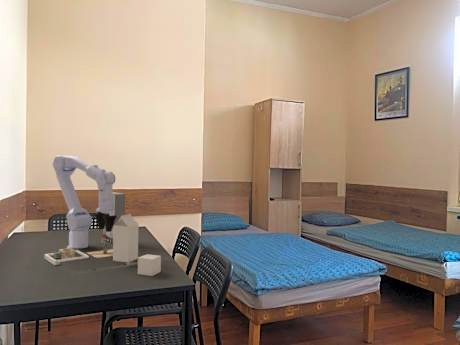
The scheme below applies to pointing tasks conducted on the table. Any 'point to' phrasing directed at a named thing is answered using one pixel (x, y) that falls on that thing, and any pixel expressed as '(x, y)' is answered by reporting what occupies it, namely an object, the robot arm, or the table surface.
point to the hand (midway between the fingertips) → (105, 230)
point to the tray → (56, 262)
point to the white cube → (149, 264)
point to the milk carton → (125, 240)
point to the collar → (65, 253)
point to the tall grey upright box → (119, 209)
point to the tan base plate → (102, 252)
